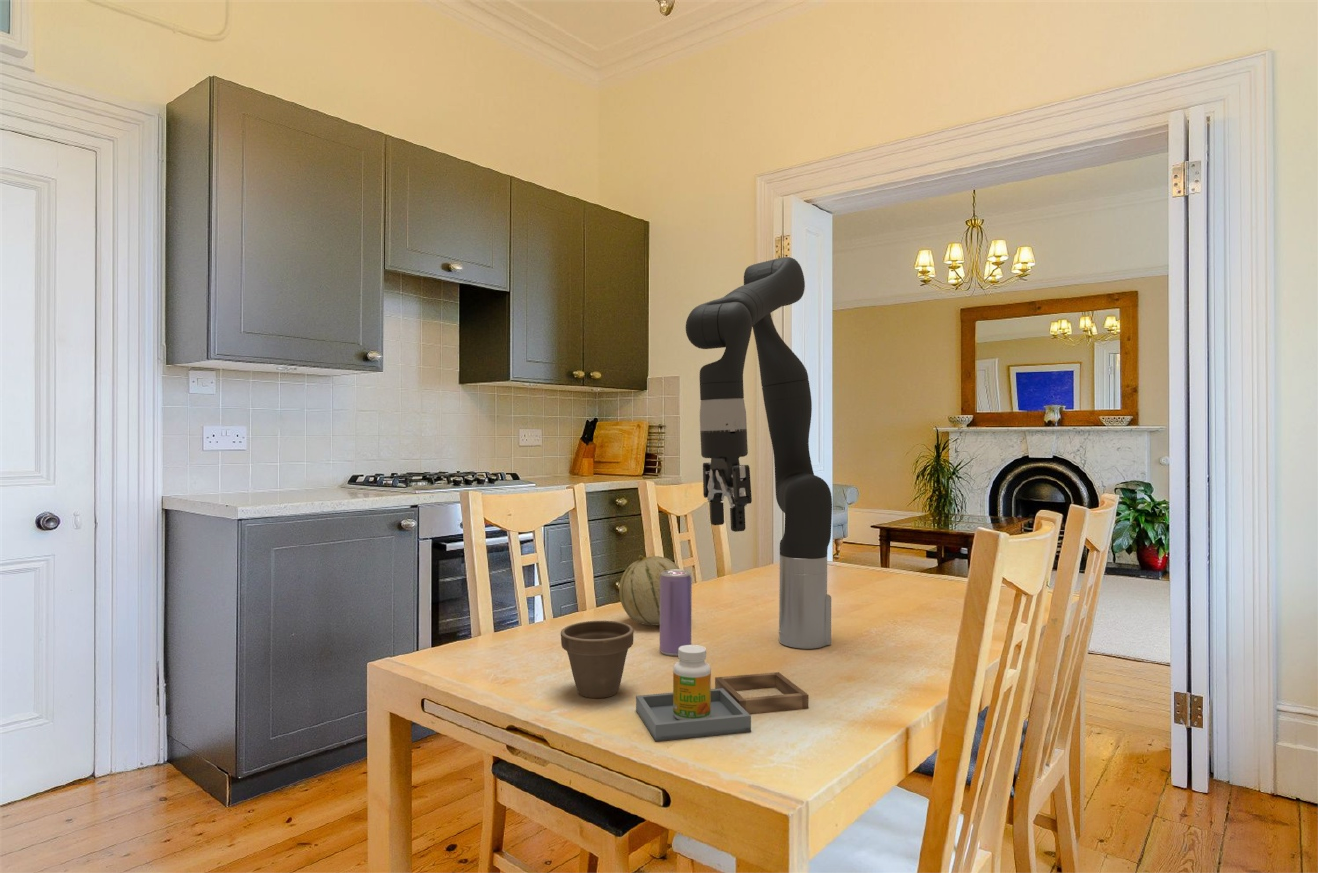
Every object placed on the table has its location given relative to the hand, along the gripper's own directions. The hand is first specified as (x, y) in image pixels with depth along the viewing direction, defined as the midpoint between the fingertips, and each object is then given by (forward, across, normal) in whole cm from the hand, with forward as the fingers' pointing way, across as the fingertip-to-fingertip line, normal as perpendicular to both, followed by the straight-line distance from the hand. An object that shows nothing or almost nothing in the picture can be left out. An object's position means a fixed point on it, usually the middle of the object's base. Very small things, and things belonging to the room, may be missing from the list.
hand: (727, 527), depth 123 cm
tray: (+25, +12, -12) cm, 30 cm away
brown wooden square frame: (+26, +6, +2) cm, 27 cm away
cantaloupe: (+26, -42, -1) cm, 49 cm away
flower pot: (+25, -4, -22) cm, 33 cm away
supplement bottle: (+25, +12, -12) cm, 30 cm away
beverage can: (+26, -21, -3) cm, 33 cm away
